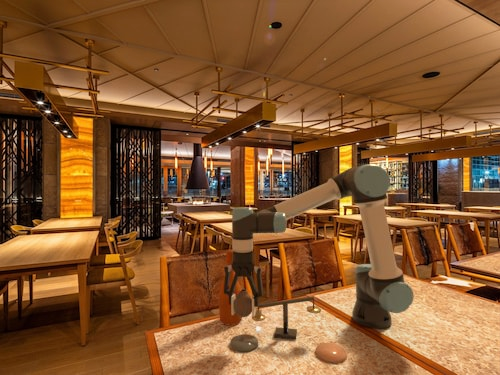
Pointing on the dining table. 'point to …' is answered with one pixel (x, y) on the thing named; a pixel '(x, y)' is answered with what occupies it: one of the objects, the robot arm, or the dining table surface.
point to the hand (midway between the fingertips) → (243, 314)
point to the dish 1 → (244, 343)
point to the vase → (243, 304)
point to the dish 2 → (331, 352)
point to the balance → (285, 316)
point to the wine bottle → (224, 298)
